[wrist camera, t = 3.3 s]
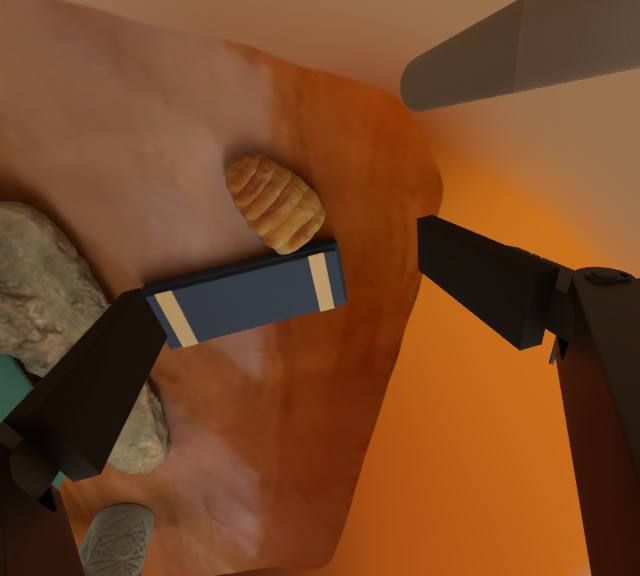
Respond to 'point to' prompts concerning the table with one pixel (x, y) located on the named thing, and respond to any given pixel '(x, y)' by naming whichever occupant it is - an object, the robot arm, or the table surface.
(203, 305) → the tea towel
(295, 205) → the pastry
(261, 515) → the table surface
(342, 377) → the table surface
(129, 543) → the grey stone cup
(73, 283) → the long grey stone
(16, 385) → the teal bluetooth speaker
